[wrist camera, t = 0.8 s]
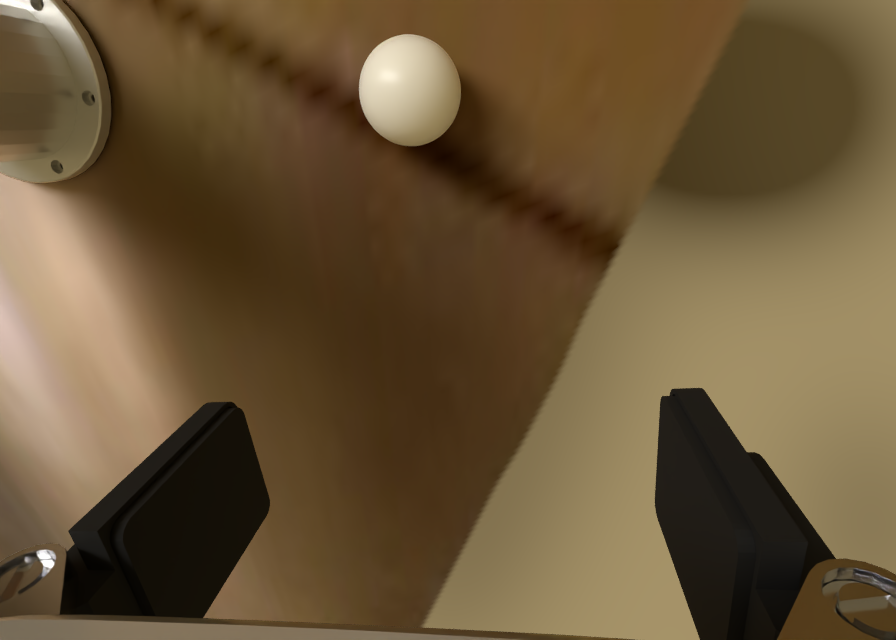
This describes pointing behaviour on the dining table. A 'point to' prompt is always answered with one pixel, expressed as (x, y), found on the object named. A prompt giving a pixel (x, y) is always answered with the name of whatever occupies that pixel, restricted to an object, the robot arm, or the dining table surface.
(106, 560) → the robot arm
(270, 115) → the dining table surface
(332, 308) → the dining table surface
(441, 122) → the cue ball
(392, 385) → the dining table surface
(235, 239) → the dining table surface
